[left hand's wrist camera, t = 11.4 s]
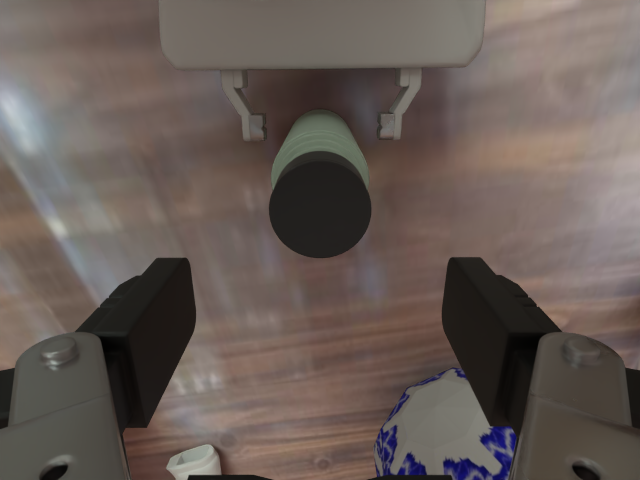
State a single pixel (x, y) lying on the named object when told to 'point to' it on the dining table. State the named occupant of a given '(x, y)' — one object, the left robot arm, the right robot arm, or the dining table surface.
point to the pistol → (195, 462)
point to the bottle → (320, 142)
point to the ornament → (443, 434)
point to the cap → (320, 205)
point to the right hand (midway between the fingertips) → (321, 139)
